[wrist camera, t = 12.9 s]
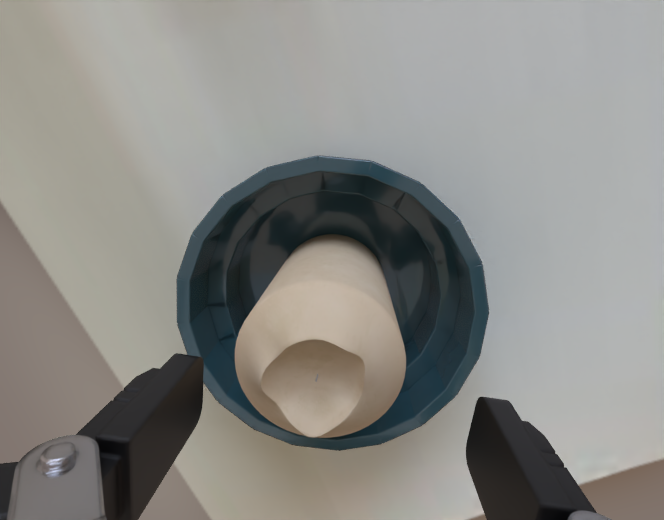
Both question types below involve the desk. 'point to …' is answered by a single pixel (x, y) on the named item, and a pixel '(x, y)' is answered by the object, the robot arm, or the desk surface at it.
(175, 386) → the robot arm
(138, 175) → the desk surface
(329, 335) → the candle
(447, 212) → the bowl
